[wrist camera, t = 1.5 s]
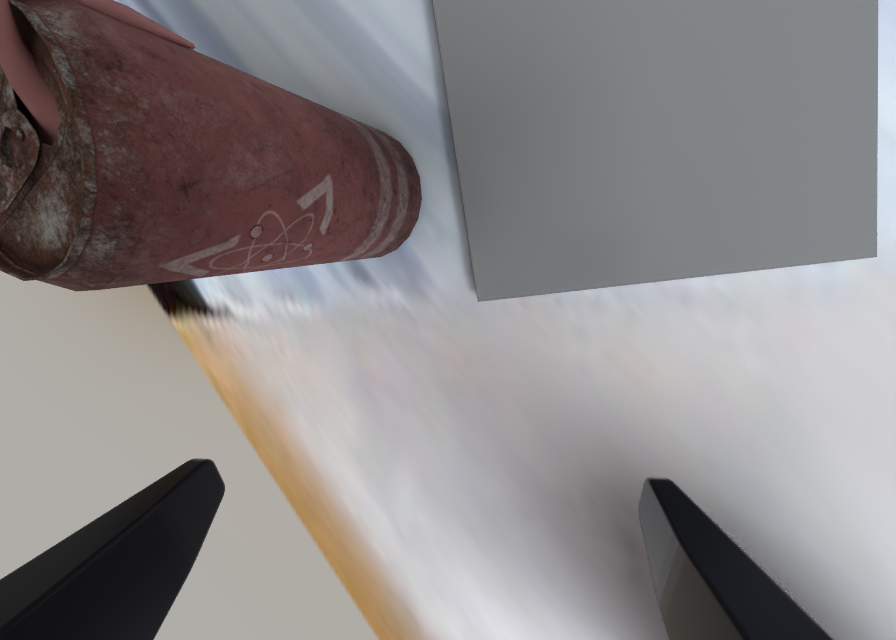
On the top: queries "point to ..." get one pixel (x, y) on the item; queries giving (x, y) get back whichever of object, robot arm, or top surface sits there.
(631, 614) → the top surface
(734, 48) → the plate
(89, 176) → the can
